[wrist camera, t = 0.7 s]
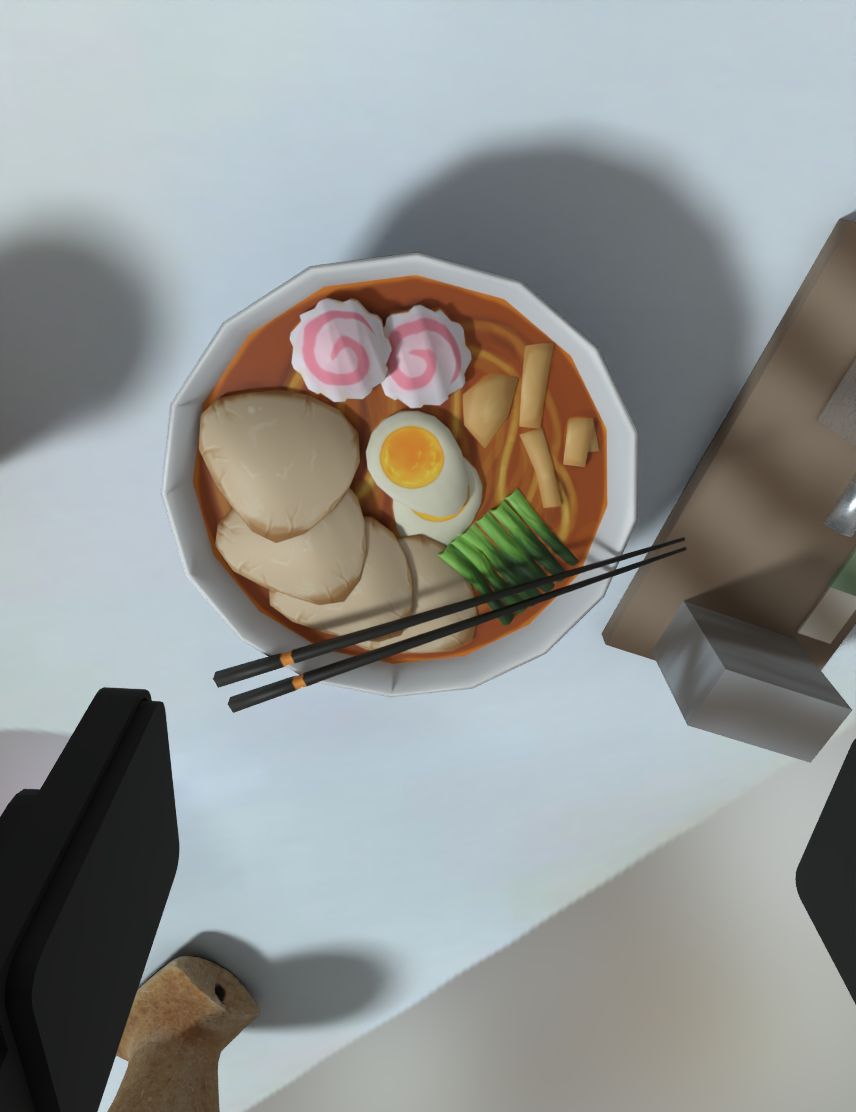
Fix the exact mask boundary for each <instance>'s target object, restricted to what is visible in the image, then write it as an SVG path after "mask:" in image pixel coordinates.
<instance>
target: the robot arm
mask: <svg viewBox="0 0 856 1112" xmlns="http://www.w3.org/2000/svg"><path fill="white" fill-rule="evenodd" d="M178 859H179V837H178V827H177V818H176V808H175V799H174V789H173V780H172V770H171V761H170V751H169V741H168V732H167V722H166V713H165V707H164V704H163V702H160V701H152V700H151V695H150V693H149V691H148V690H145V689H125V688H105V687H104V688H102V689H100V690H99V691H98V692H97V694H96V695H95V697H94V699H93V700H92V702H91V704H90V705H89V707H88V709H87V711H86V712H85V714H84V716H83V717H82V719H81V721H80V722H79V724H78V726H77V728H76V729H75V731H74V733H73V734H72V736H71V738H70V739H69V741H68V743H67V745H66V746H65V748H64V750H63V752H62V753H61V755H60V756H59V758H58V760H57V762H56V763H55V765H54V767H53V769H52V770H51V772H50V773H49V775H48V777H47V779H46V780H45V782H44V784H43V786H42V787H41V789H40V790H38V789H23V790H22V791H20V792H19V793H17V794H16V795H15V796H14V798H13V799H12V800H11V802H10V803H9V804H8V805H7V807H6V809H5V810H4V812H3V813H2V815H1V817H0V1112H97V1111H98V1108H99V1105H100V1102H101V1099H102V1096H103V1093H104V1090H105V1087H106V1084H107V1081H108V1078H109V1075H110V1072H111V1069H112V1066H113V1063H114V1060H115V1057H116V1054H117V1051H118V1048H119V1044H120V1041H121V1038H122V1035H123V1032H124V1029H125V1026H126V1023H127V1020H128V1017H129V1014H130V1011H131V1008H132V1005H133V1002H134V999H135V996H136V993H137V990H138V987H139V984H140V981H141V978H142V975H143V972H144V969H145V965H146V962H147V959H148V956H149V953H150V950H151V947H152V944H153V941H154V938H155V935H156V932H157V929H158V926H159V923H160V920H161V917H162V914H163V911H164V908H165V905H166V902H167V899H168V896H169V893H170V890H171V886H172V883H173V880H174V877H175V874H176V870H177V866H178ZM796 887H797V891H798V894H799V897H800V899H801V901H802V903H803V905H804V906H805V909H806V911H807V912H808V914H809V916H810V918H811V920H812V922H813V924H814V926H815V928H816V930H817V931H818V933H819V935H820V937H821V939H822V941H823V943H824V945H825V947H826V949H827V950H828V952H829V954H830V956H831V958H832V960H833V962H834V964H835V966H836V968H837V969H838V972H839V973H840V975H841V977H842V979H843V981H844V983H845V985H846V987H847V989H848V991H849V992H850V994H851V996H852V998H853V1000H854V1002H855V1004H856V739H855V740H854V741H853V743H852V745H851V747H850V749H849V751H848V754H847V756H846V758H845V760H844V763H843V765H842V768H841V770H840V772H839V774H838V776H837V779H836V781H835V784H834V786H833V788H832V790H831V792H830V795H829V797H828V799H827V801H826V804H825V806H824V808H823V811H822V813H821V815H820V817H819V820H818V822H817V824H816V827H815V829H814V831H813V833H812V836H811V838H810V840H809V843H808V845H807V847H806V849H805V852H804V854H803V856H802V858H801V861H800V863H799V865H798V868H797V871H796Z"/></svg>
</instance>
